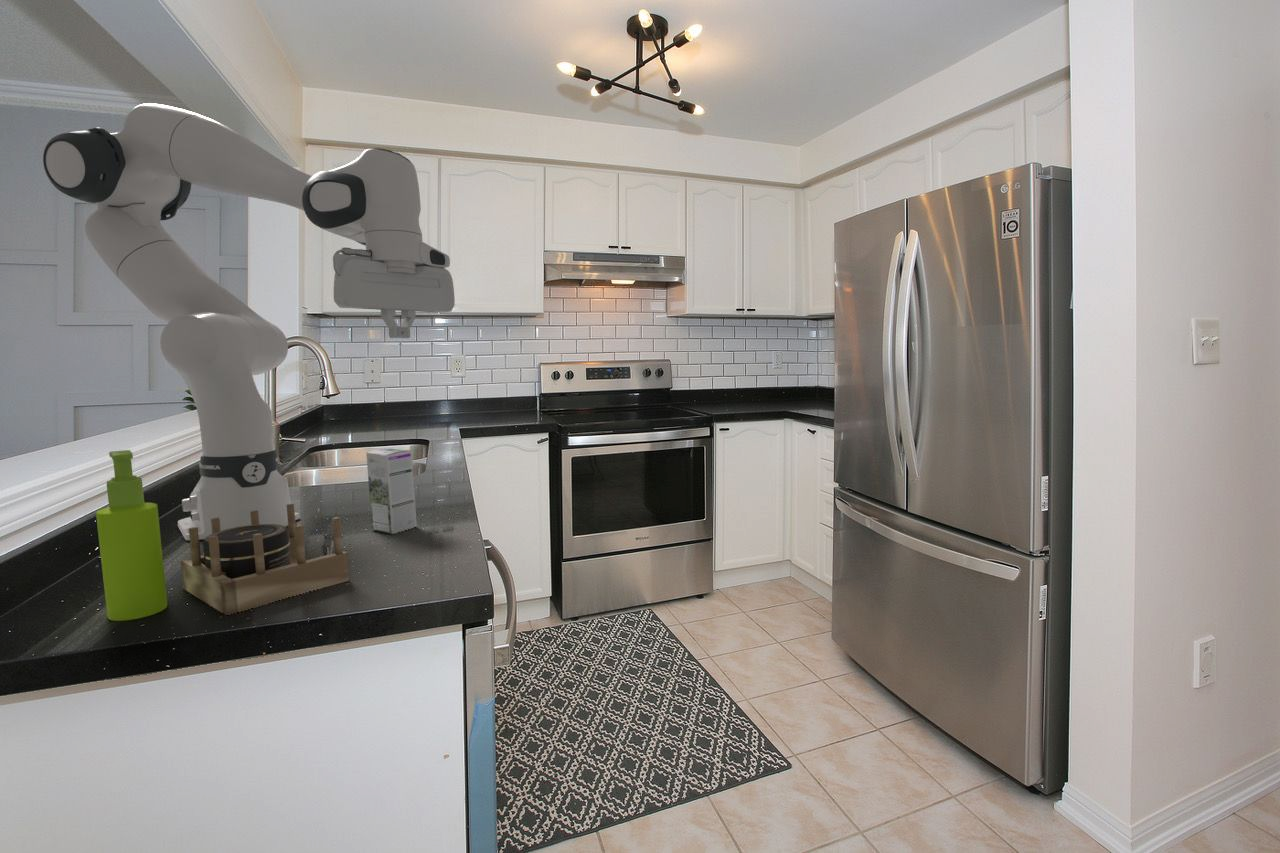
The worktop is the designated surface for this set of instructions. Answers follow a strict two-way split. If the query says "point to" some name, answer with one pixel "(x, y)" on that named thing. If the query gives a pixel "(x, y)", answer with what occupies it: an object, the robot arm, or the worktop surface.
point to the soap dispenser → (130, 546)
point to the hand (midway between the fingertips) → (399, 338)
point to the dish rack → (262, 570)
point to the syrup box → (391, 490)
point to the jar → (249, 549)
